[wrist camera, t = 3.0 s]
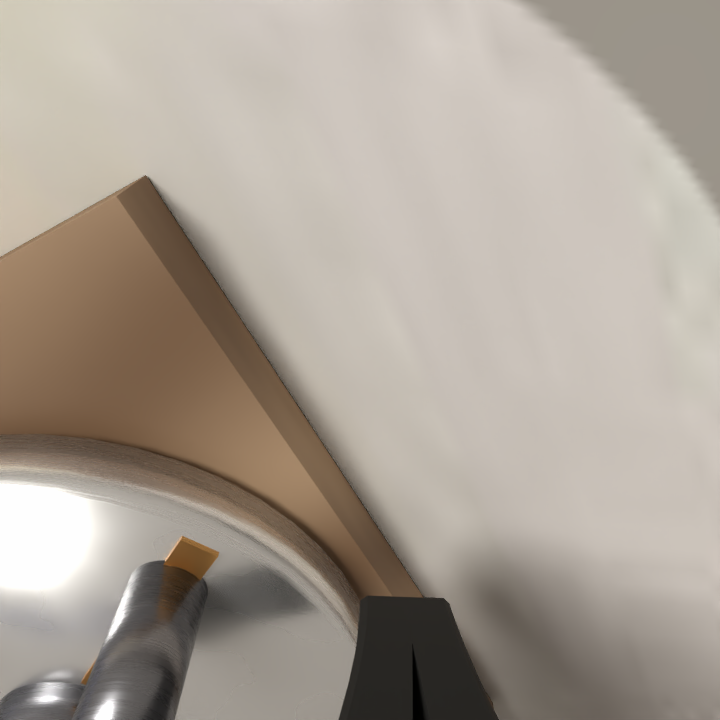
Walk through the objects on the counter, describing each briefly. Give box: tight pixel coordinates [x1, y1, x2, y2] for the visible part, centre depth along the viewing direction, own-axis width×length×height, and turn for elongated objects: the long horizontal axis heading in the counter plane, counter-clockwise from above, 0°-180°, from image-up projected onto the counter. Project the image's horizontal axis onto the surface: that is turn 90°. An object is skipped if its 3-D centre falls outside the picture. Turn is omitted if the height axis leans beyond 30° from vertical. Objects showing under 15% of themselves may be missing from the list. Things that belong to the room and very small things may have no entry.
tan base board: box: [0, 175, 494, 709], centre depth 15 cm, size 17×14×2 cm
